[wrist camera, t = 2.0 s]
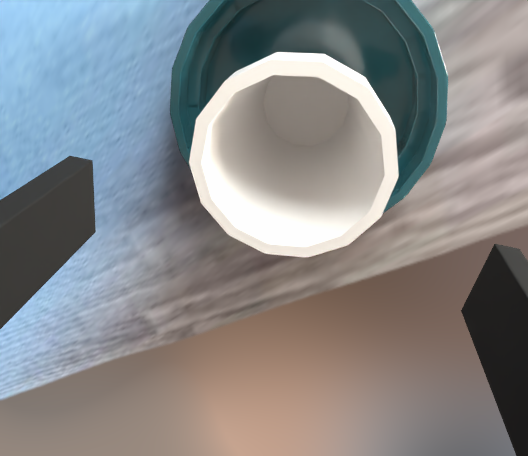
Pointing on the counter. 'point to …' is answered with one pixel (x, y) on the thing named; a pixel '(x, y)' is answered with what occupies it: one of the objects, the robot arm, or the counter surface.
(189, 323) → the counter surface
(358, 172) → the foam cup
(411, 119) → the bowl
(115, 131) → the counter surface
